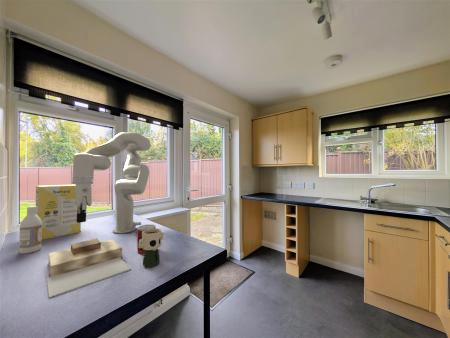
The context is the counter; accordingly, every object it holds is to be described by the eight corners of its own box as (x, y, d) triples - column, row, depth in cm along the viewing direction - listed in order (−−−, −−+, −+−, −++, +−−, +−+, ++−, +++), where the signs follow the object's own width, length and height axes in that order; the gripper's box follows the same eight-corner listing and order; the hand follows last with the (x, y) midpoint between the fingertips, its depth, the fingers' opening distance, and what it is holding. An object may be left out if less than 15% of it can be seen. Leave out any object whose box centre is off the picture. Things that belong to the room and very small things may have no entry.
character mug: (144, 273, 66) (145, 236, 66) (132, 268, 70) (133, 233, 70) (168, 261, 75) (169, 229, 76) (156, 256, 79) (157, 226, 79)
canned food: (137, 256, 80) (138, 230, 80) (136, 249, 87) (137, 225, 87) (156, 252, 83) (156, 228, 84) (154, 246, 90) (154, 223, 91)
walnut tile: (96, 243, 83) (96, 238, 83) (100, 248, 78) (100, 242, 78) (70, 249, 76) (70, 243, 76) (73, 254, 71) (73, 248, 71)
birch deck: (112, 247, 88) (112, 239, 88) (121, 257, 79) (122, 247, 79) (48, 263, 72) (48, 253, 73) (50, 277, 63) (51, 266, 63)
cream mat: (119, 258, 78) (119, 257, 78) (131, 269, 68) (131, 268, 68) (46, 279, 62) (46, 278, 62) (49, 298, 53) (49, 296, 53)
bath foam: (37, 252, 83) (38, 207, 83) (15, 255, 80) (16, 208, 80) (44, 246, 89) (45, 204, 89) (24, 249, 86) (25, 205, 86)
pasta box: (75, 228, 118) (76, 184, 118) (80, 231, 111) (81, 185, 112) (34, 236, 103) (36, 185, 104) (37, 240, 97) (39, 186, 98)
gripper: (96, 181, 81) (95, 223, 80) (89, 180, 92) (88, 218, 91) (75, 181, 76) (72, 226, 75) (70, 180, 86) (68, 220, 85)
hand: (81, 221), depth 83 cm, fingers closed
